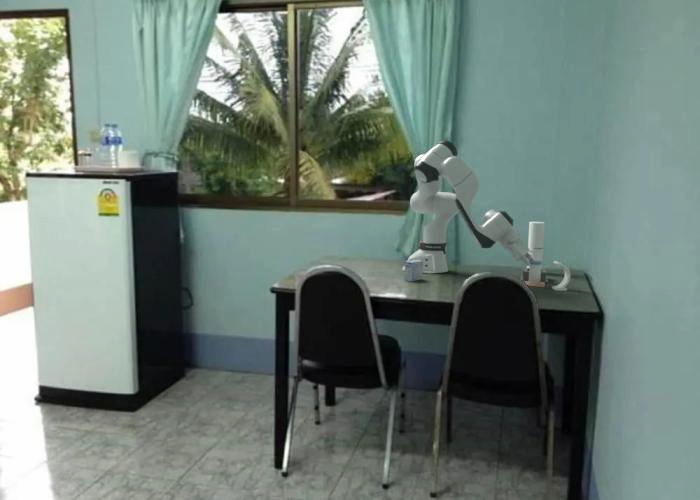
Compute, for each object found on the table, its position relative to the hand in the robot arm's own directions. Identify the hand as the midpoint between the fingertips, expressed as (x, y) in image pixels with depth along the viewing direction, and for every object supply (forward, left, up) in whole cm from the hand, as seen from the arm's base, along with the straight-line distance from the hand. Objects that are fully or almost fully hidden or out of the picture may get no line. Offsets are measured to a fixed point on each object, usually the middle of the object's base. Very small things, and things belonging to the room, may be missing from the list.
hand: (531, 263), depth 275 cm
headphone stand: (+13, -8, -9) cm, 18 cm away
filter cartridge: (+2, -1, -9) cm, 9 cm away
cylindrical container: (+2, +30, -9) cm, 32 cm away
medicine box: (-51, -9, -9) cm, 53 cm away
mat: (+2, -1, -9) cm, 9 cm away
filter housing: (+2, +11, -9) cm, 14 cm away
